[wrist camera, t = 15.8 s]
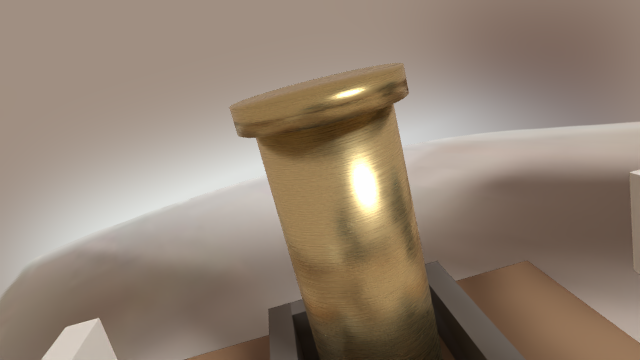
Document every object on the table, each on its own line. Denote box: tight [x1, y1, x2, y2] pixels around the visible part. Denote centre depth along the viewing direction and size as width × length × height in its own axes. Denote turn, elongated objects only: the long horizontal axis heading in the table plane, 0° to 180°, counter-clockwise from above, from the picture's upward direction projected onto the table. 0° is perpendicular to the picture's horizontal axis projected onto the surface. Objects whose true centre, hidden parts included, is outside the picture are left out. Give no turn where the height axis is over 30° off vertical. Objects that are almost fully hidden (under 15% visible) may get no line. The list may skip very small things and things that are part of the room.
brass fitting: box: [230, 63, 443, 360], centre depth 18 cm, size 6×6×14 cm
